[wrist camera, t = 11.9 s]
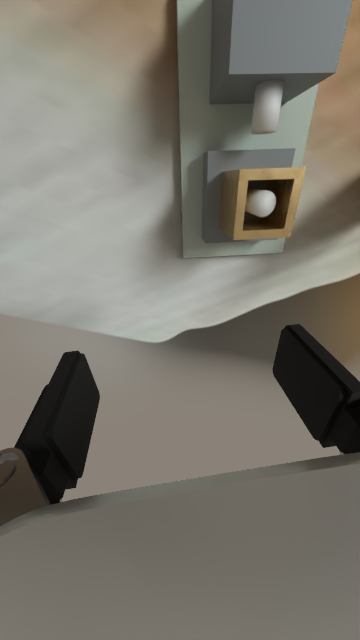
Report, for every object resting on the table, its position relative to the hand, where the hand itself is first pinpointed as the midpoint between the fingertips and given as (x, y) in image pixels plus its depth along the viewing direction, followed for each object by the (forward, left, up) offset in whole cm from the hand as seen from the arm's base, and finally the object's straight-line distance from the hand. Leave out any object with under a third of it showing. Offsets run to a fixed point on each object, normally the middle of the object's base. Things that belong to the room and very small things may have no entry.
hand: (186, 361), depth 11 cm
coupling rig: (+9, +10, -24) cm, 27 cm away
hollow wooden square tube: (+9, +5, -20) cm, 22 cm away
